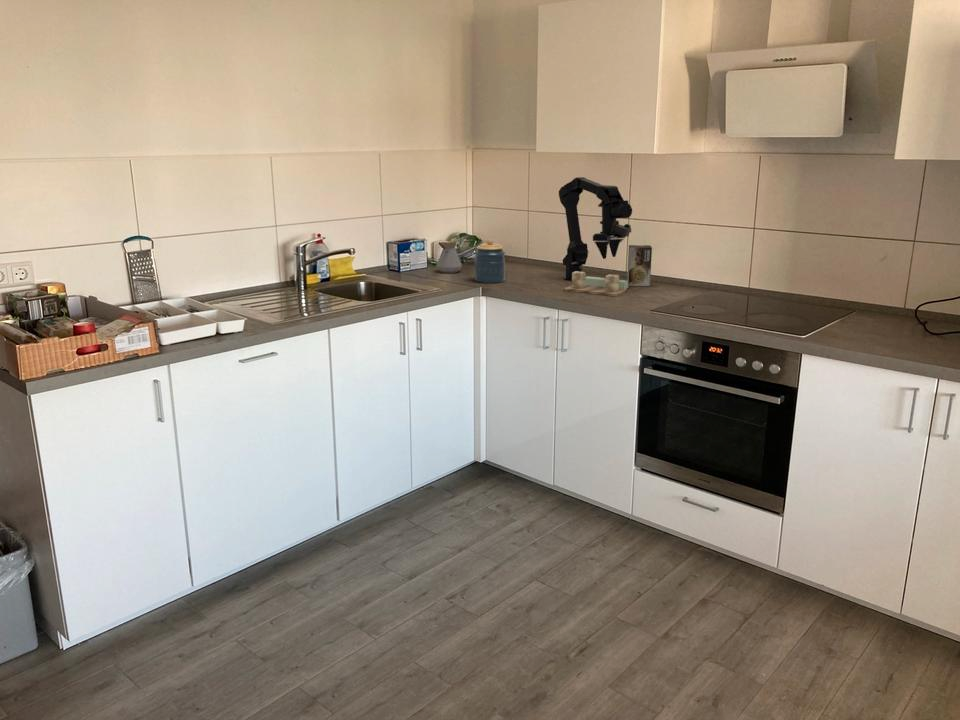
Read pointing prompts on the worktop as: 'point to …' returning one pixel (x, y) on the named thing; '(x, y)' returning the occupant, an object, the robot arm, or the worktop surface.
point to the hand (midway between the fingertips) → (609, 257)
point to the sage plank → (603, 282)
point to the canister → (489, 263)
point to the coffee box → (639, 265)
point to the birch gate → (608, 290)
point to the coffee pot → (448, 259)
